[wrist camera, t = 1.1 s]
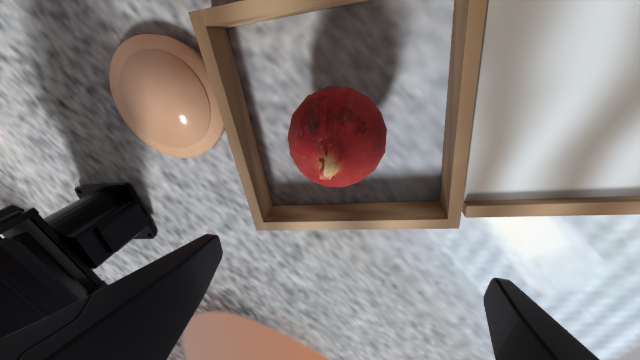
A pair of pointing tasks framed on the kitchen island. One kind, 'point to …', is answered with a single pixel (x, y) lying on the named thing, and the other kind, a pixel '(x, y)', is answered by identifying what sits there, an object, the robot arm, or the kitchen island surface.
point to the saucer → (165, 95)
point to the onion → (337, 137)
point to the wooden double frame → (482, 114)
